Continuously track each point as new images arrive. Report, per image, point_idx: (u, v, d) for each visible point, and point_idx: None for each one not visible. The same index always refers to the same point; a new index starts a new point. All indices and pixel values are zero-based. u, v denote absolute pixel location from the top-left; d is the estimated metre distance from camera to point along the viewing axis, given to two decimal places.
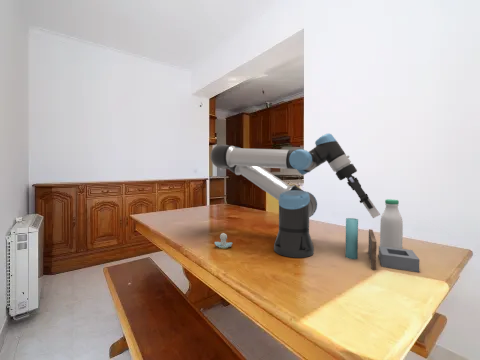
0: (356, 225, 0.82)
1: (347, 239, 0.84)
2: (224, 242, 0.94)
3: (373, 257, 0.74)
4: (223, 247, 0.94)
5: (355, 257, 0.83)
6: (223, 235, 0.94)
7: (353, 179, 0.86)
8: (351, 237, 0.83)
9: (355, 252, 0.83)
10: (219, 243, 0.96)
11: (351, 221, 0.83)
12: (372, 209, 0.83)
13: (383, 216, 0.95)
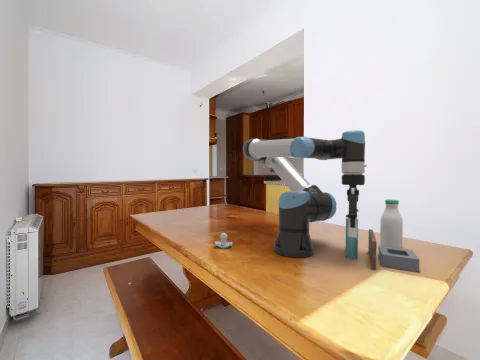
0: None
1: (347, 239, 0.84)
2: (224, 242, 0.95)
3: (373, 257, 0.74)
4: (223, 247, 0.94)
5: (355, 257, 0.83)
6: (223, 235, 0.94)
7: (354, 191, 0.77)
8: (351, 237, 0.83)
9: (355, 252, 0.83)
10: (219, 243, 0.97)
11: None
12: (353, 228, 0.78)
13: (383, 216, 0.95)
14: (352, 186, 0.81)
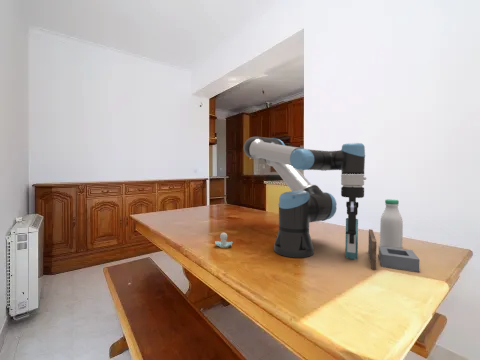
0: (356, 225, 0.82)
1: None
2: (224, 241, 0.95)
3: (373, 257, 0.74)
4: (223, 246, 0.95)
5: (355, 257, 0.83)
6: (223, 234, 0.94)
7: (353, 210, 0.78)
8: None
9: None
10: (219, 242, 0.97)
11: None
12: (352, 244, 0.82)
13: (383, 216, 0.95)
14: (351, 199, 0.81)
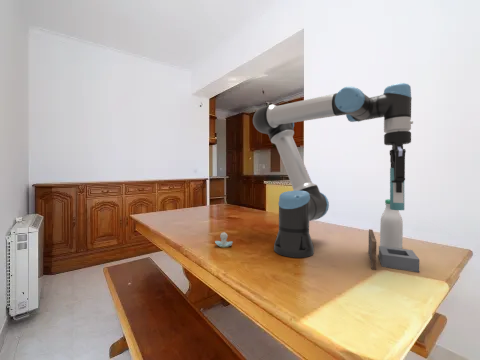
0: None
1: (392, 189, 0.77)
2: (224, 241, 0.96)
3: (373, 257, 0.74)
4: (223, 246, 0.95)
5: (402, 208, 0.76)
6: (223, 234, 0.95)
7: (402, 153, 0.72)
8: None
9: (402, 203, 0.76)
10: (219, 242, 0.98)
11: None
12: (399, 194, 0.75)
13: (383, 216, 0.95)
14: (398, 143, 0.74)
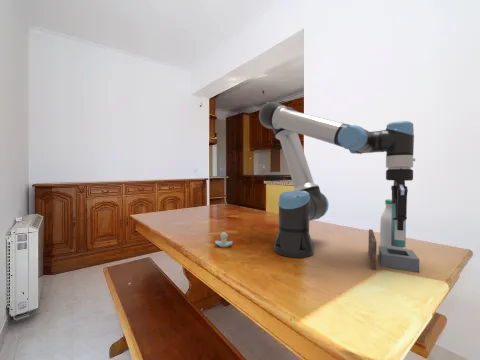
0: None
1: (394, 226, 0.77)
2: (224, 241, 0.96)
3: (373, 257, 0.74)
4: (223, 246, 0.95)
5: (403, 245, 0.76)
6: (223, 234, 0.95)
7: (404, 193, 0.72)
8: None
9: (403, 240, 0.76)
10: (220, 242, 0.98)
11: None
12: (400, 231, 0.76)
13: (383, 216, 0.95)
14: (400, 181, 0.74)
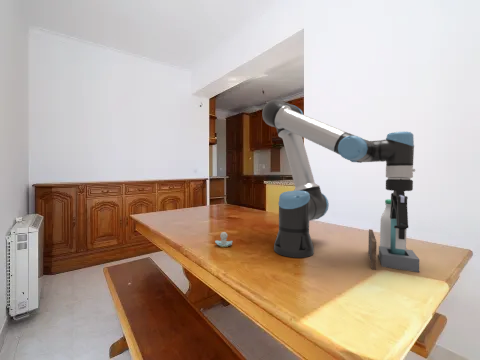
0: None
1: (393, 242, 0.77)
2: (224, 241, 0.96)
3: (373, 257, 0.74)
4: (223, 246, 0.96)
5: None
6: (223, 234, 0.96)
7: (404, 200, 0.72)
8: None
9: None
10: (220, 242, 0.98)
11: None
12: (401, 240, 0.73)
13: (383, 216, 0.95)
14: (400, 192, 0.75)
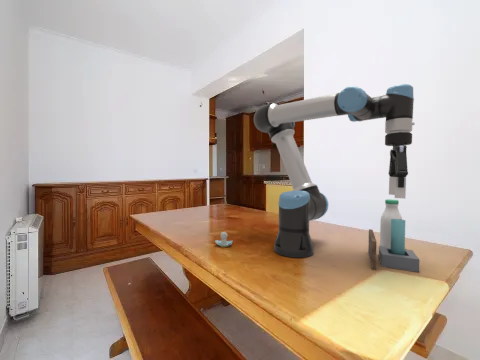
0: (403, 226, 0.76)
1: (393, 242, 0.77)
2: (224, 240, 0.97)
3: (373, 257, 0.74)
4: None
5: None
6: (224, 234, 0.96)
7: (403, 149, 0.71)
8: (398, 240, 0.76)
9: None
10: (220, 241, 0.99)
11: (398, 222, 0.76)
12: (400, 189, 0.72)
13: (383, 216, 0.95)
14: (399, 145, 0.75)
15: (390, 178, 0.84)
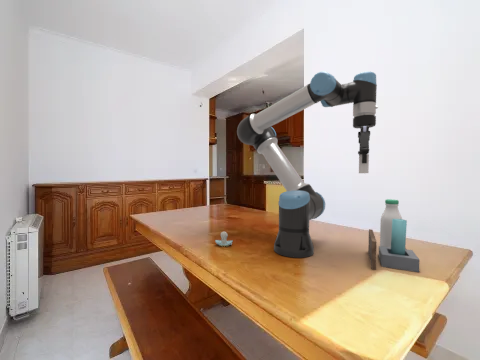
0: (405, 226, 0.76)
1: (394, 241, 0.77)
2: (225, 240, 0.97)
3: (373, 257, 0.74)
4: (224, 245, 0.96)
5: None
6: (224, 233, 0.96)
7: (366, 128, 0.80)
8: (399, 240, 0.76)
9: None
10: (220, 241, 0.99)
11: (399, 222, 0.76)
12: (364, 165, 0.80)
13: (383, 216, 0.95)
14: (364, 126, 0.83)
15: (359, 158, 0.93)
